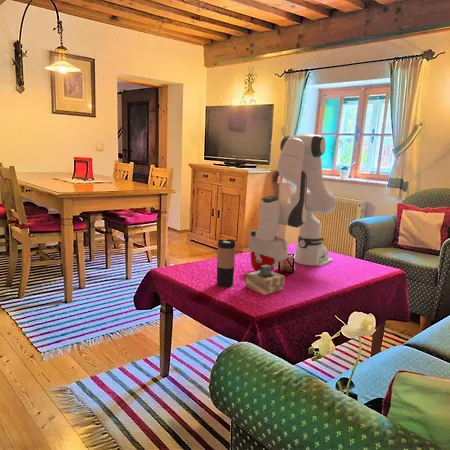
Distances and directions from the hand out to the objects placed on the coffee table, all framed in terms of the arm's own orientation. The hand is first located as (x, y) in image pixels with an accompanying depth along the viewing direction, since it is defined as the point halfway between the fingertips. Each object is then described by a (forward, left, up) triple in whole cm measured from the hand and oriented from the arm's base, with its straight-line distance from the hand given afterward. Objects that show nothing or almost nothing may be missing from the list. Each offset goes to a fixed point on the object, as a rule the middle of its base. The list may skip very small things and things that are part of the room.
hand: (266, 265), depth 176 cm
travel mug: (+13, -13, -11) cm, 21 cm away
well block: (+1, 0, -10) cm, 10 cm away
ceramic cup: (-12, -15, -11) cm, 22 cm away
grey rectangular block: (0, 0, -10) cm, 10 cm away
